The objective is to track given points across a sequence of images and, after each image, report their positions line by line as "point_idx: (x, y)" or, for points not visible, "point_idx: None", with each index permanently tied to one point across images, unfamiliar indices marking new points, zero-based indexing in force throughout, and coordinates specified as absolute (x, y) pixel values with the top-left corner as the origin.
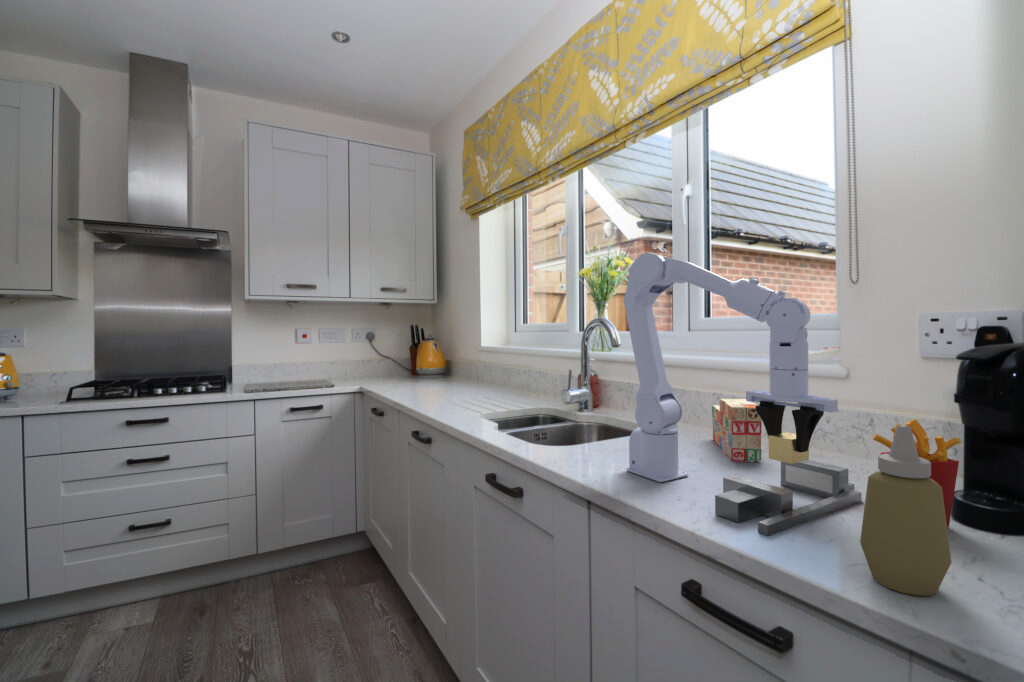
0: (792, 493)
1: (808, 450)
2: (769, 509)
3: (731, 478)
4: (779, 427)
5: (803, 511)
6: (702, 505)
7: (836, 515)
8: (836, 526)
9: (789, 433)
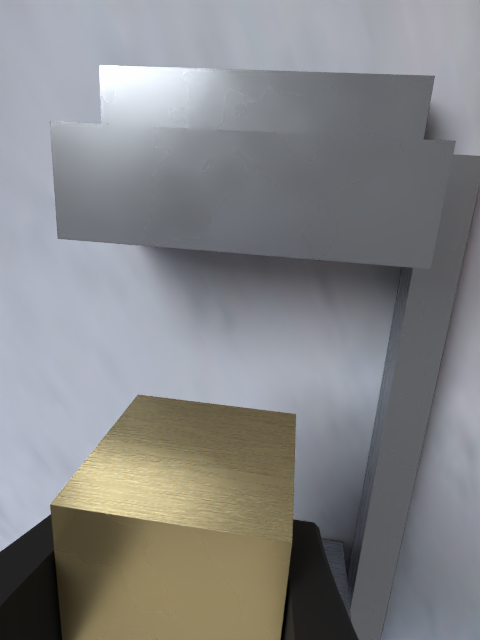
0: (350, 618)
1: (293, 456)
2: None
3: None
4: (15, 627)
5: (386, 577)
6: None
7: (439, 421)
8: (471, 519)
9: (116, 553)
